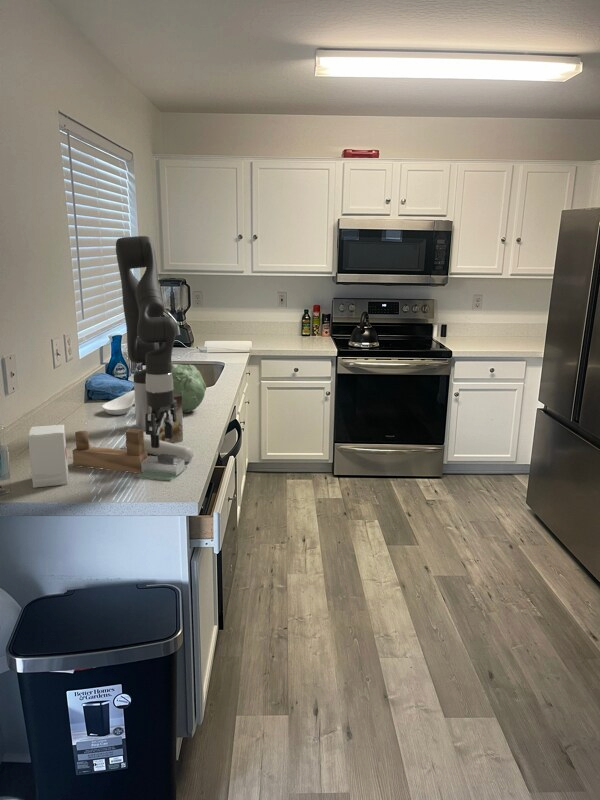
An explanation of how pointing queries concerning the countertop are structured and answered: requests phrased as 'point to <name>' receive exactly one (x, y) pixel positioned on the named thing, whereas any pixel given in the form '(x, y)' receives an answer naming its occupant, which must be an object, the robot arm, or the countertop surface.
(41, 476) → the supplement box
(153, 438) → the robot arm
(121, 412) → the spoon rest
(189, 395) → the cabbage
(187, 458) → the tube
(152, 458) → the lever cap
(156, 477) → the mat
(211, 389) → the countertop surface
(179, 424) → the coffee box
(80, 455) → the body
